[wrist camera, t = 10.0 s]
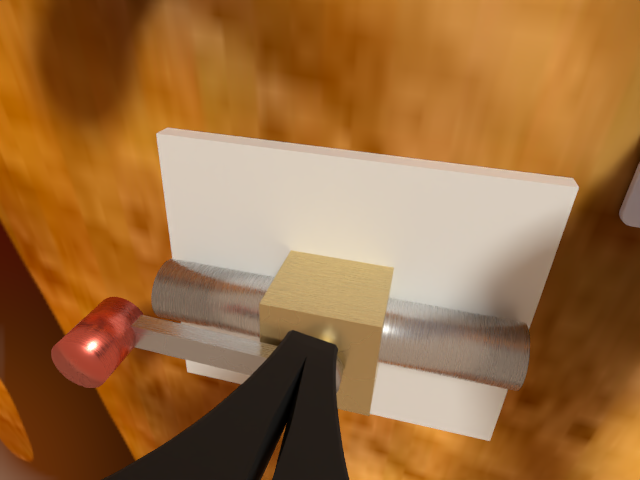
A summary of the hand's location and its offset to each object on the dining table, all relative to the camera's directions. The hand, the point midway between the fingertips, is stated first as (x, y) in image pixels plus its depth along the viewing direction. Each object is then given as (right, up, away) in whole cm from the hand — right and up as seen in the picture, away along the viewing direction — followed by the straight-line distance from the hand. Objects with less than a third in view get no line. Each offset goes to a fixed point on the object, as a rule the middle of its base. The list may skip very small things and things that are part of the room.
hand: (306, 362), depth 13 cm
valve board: (+2, +1, +11) cm, 11 cm away
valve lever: (-4, -1, +8) cm, 9 cm away
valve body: (+1, 0, +11) cm, 11 cm away
